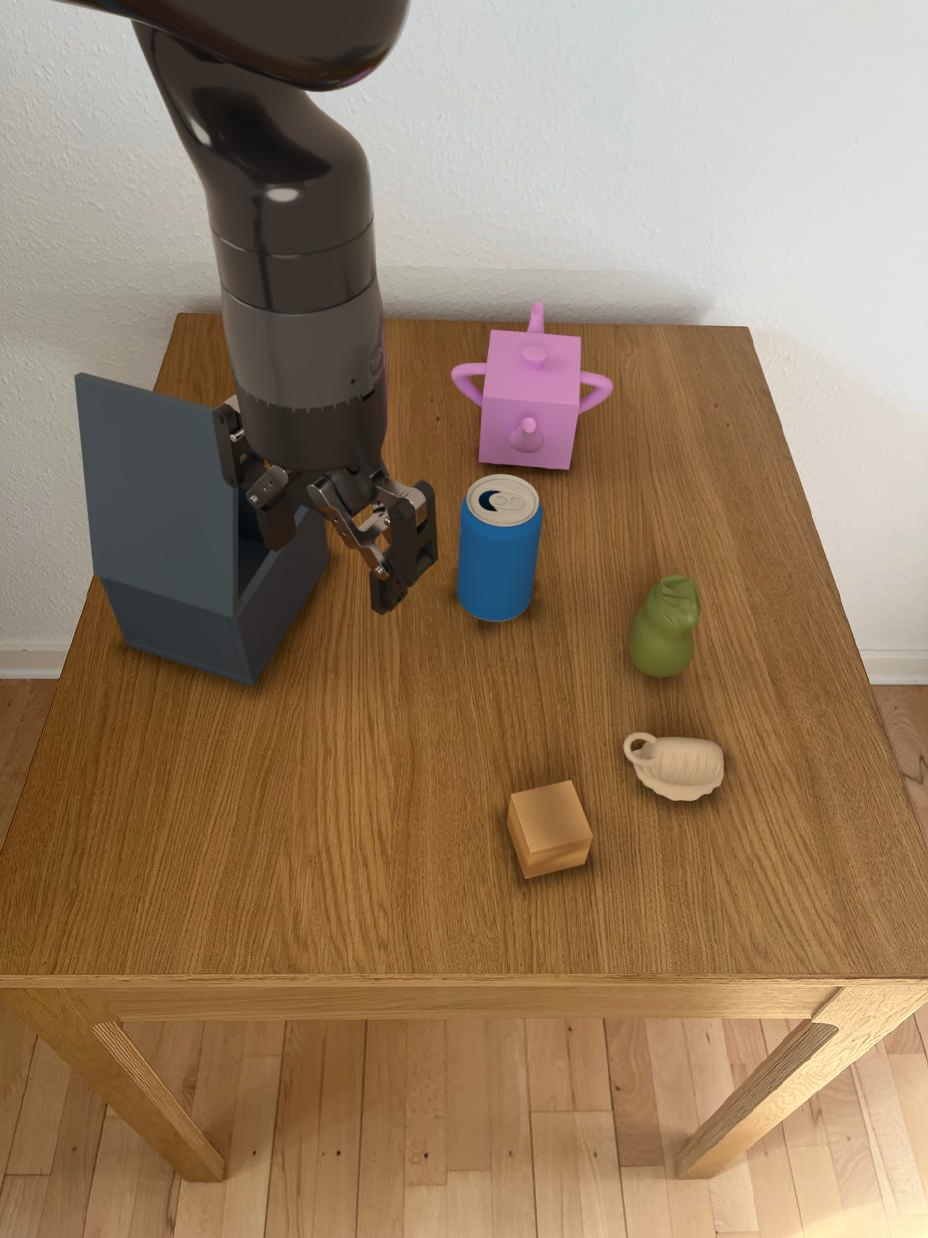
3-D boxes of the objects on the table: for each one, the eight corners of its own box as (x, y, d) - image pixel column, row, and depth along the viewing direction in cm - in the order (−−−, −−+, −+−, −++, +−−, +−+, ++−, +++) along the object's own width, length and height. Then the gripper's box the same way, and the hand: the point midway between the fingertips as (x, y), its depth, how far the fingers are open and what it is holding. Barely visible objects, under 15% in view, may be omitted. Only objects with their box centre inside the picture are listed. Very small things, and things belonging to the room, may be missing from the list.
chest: (213, 527, 86) (195, 454, 79) (329, 561, 84) (321, 489, 77) (126, 646, 78) (98, 575, 71) (253, 687, 76) (236, 619, 69)
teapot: (427, 423, 96) (428, 332, 88) (530, 379, 101) (540, 288, 93) (518, 512, 89) (529, 422, 80) (624, 459, 94) (645, 369, 86)
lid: (81, 371, 62) (73, 374, 62) (239, 413, 60) (232, 417, 59) (99, 569, 71) (93, 574, 70) (238, 612, 69) (232, 618, 68)
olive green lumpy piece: (620, 635, 80) (641, 555, 72) (682, 638, 80) (710, 559, 72) (625, 689, 77) (648, 612, 69) (690, 692, 77) (720, 615, 69)
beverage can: (462, 566, 84) (467, 465, 75) (533, 575, 84) (547, 475, 75) (451, 621, 80) (455, 523, 71) (527, 631, 80) (540, 533, 71)
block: (524, 879, 66) (530, 852, 63) (506, 823, 69) (510, 793, 65) (584, 864, 67) (593, 836, 64) (564, 809, 70) (571, 779, 66)
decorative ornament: (723, 806, 70) (743, 770, 66) (612, 793, 71) (624, 757, 66) (720, 759, 73) (738, 722, 69) (612, 747, 73) (624, 709, 69)
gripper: (147, 336, 46) (207, 558, 59) (375, 454, 42) (386, 667, 54) (253, 270, 50) (287, 491, 63) (471, 370, 45) (461, 588, 58)
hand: (333, 572), depth 59 cm, fingers open, 8 cm apart
